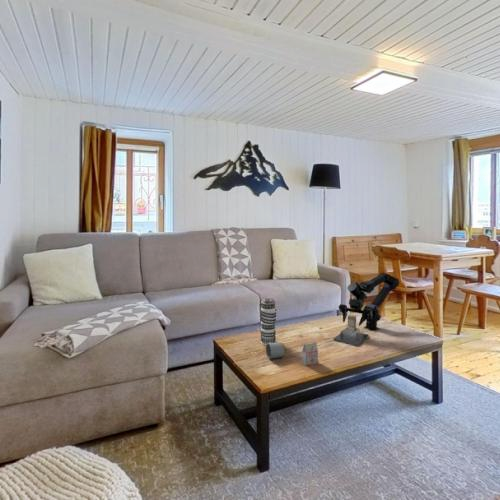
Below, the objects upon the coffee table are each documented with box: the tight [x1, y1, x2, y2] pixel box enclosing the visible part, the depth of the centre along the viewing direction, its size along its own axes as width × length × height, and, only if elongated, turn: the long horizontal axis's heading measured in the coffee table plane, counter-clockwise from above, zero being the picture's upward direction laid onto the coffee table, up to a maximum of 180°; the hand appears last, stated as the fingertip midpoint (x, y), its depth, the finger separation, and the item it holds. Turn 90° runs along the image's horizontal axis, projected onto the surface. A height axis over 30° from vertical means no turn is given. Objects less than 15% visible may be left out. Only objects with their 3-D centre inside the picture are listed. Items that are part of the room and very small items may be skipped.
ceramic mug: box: [265, 342, 286, 360], centre depth 168 cm, size 11×8×8 cm
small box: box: [301, 341, 319, 367], centre depth 160 cm, size 4×7×10 cm, turn 113°
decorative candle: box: [259, 297, 277, 346], centre depth 183 cm, size 9×9×25 cm
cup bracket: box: [333, 326, 370, 347], centre depth 190 cm, size 18×14×6 cm
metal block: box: [346, 314, 357, 332], centre depth 189 cm, size 4×4×12 cm
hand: (351, 323), depth 188 cm, fingers open, 9 cm apart
